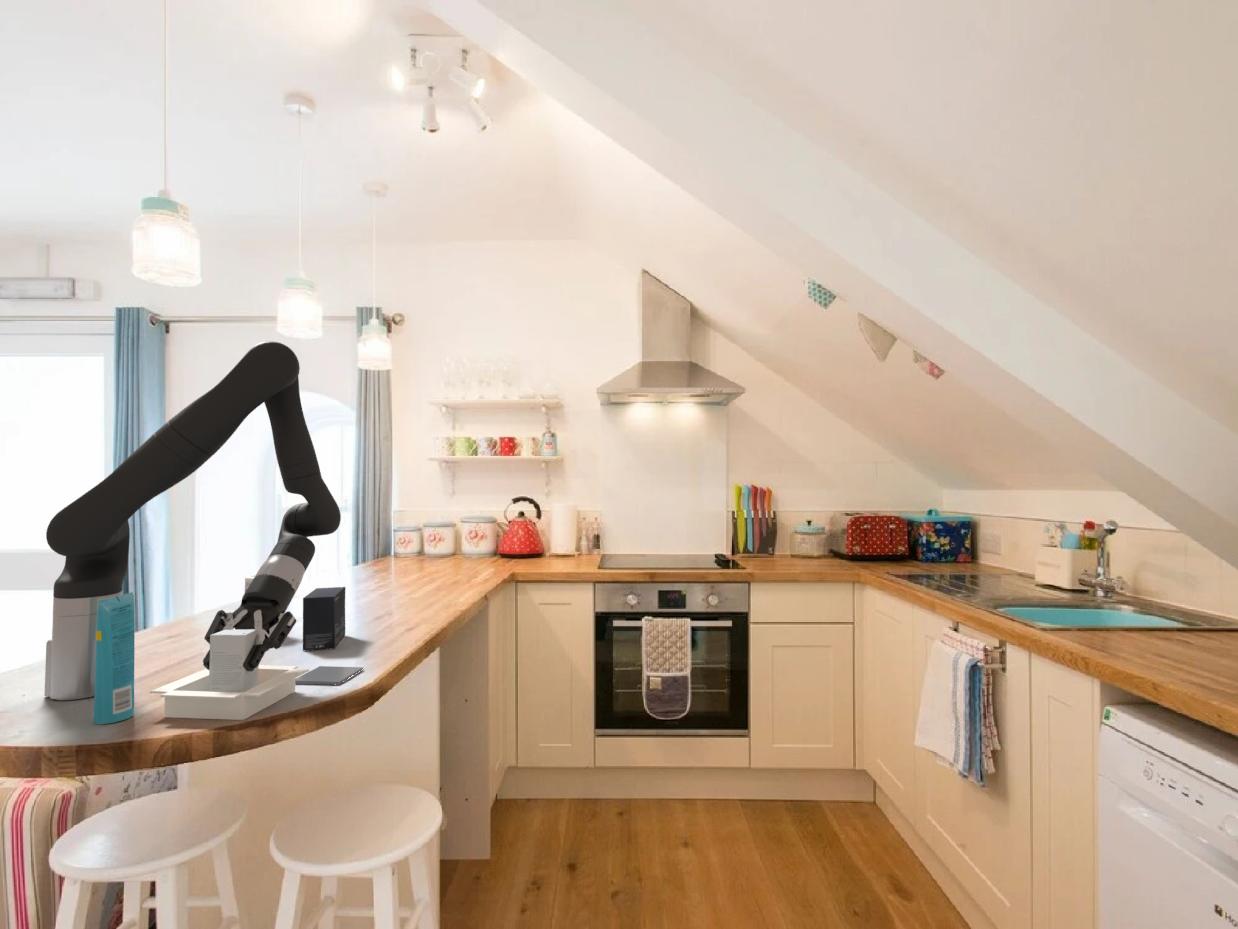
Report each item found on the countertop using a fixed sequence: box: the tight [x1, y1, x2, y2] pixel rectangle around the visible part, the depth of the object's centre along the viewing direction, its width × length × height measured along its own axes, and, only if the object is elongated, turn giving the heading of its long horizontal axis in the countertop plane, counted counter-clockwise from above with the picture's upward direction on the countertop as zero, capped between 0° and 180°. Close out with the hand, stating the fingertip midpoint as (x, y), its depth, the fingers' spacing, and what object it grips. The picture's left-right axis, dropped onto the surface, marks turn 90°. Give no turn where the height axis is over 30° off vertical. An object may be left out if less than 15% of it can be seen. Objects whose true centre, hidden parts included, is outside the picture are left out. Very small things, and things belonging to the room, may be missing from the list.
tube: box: [93, 591, 136, 725], centre depth 95 cm, size 7×5×19 cm, turn 11°
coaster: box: [295, 665, 364, 686], centre depth 116 cm, size 9×9×1 cm
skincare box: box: [209, 629, 260, 693], centre depth 102 cm, size 6×4×12 cm
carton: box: [149, 664, 310, 721], centre depth 102 cm, size 18×16×4 cm
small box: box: [302, 586, 346, 651], centre depth 141 cm, size 13×7×12 cm, turn 15°
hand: (227, 668), depth 100 cm, fingers closed on skincare box, 6 cm apart
